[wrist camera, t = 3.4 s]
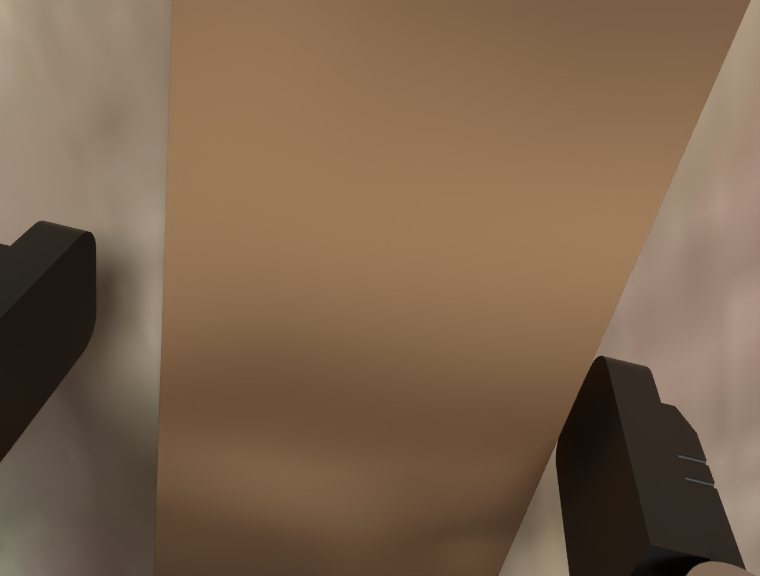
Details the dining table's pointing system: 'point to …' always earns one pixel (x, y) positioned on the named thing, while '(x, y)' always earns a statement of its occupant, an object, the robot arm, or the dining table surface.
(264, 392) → the plank
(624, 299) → the dining table surface
